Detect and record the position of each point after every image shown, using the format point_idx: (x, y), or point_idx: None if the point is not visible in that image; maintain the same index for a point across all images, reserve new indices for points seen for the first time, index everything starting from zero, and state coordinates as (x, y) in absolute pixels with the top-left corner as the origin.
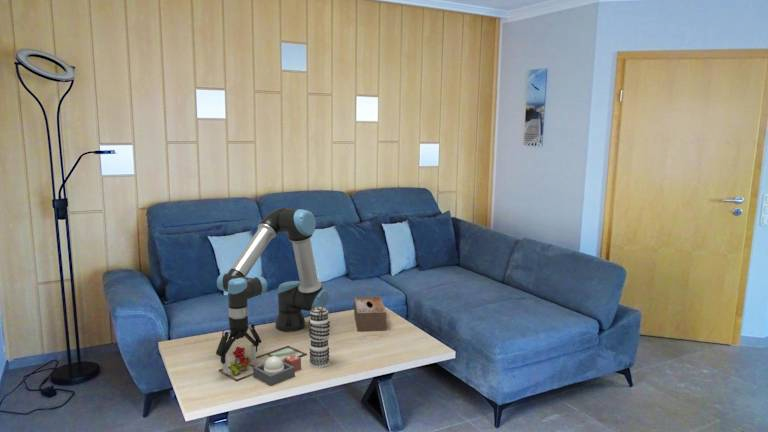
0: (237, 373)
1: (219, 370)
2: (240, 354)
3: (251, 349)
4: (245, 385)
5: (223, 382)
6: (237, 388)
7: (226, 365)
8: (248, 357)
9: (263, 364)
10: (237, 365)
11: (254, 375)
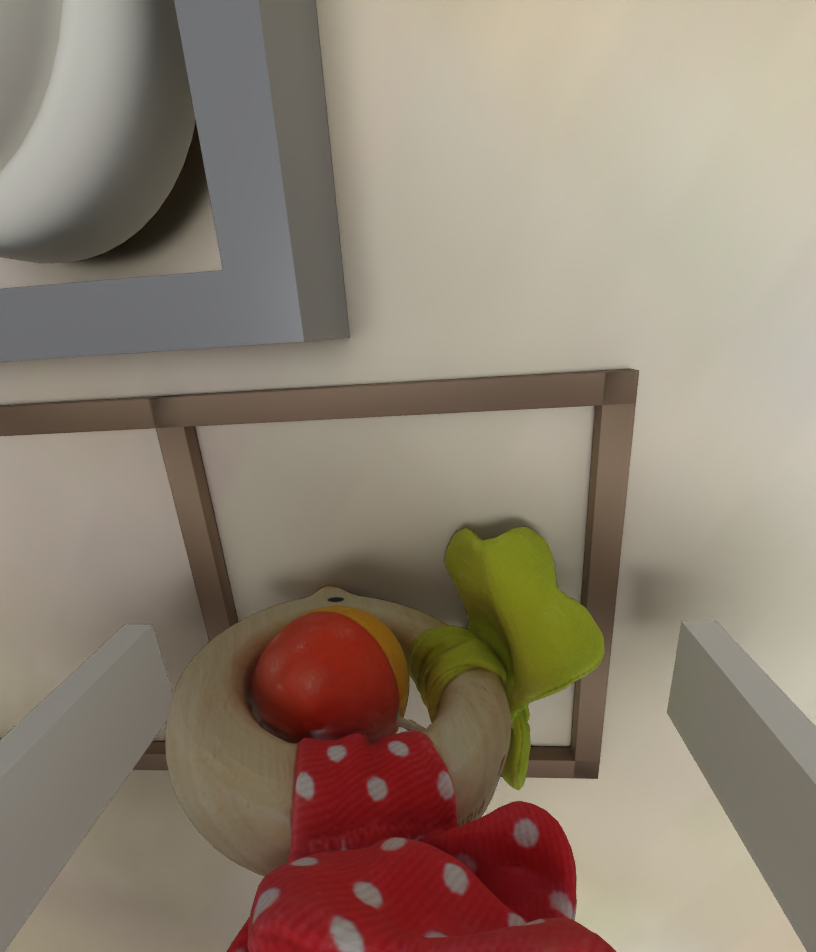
0: (516, 531)
1: (597, 763)
2: (420, 881)
3: (8, 914)
4: (628, 106)
5: (776, 474)
6: (806, 92)
7: (793, 712)
8: (213, 710)
9: (42, 313)
10: (470, 659)
11: (339, 298)
